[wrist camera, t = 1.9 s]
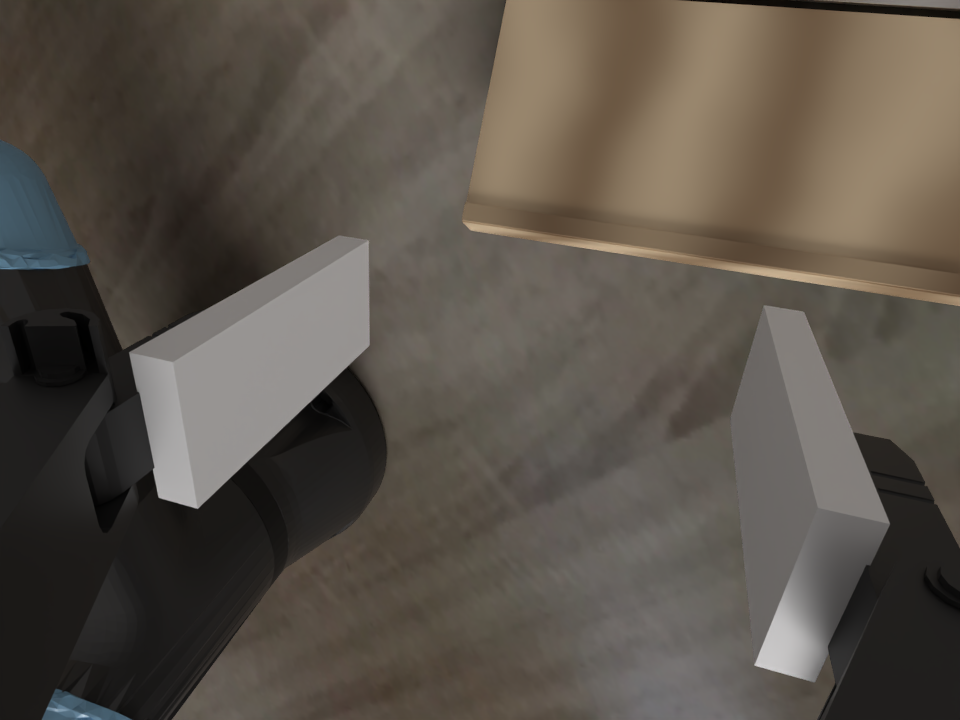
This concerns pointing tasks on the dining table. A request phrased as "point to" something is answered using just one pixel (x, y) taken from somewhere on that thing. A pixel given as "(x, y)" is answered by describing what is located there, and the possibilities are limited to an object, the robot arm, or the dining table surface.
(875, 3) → the laid board
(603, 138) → the plank
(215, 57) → the dining table surface
